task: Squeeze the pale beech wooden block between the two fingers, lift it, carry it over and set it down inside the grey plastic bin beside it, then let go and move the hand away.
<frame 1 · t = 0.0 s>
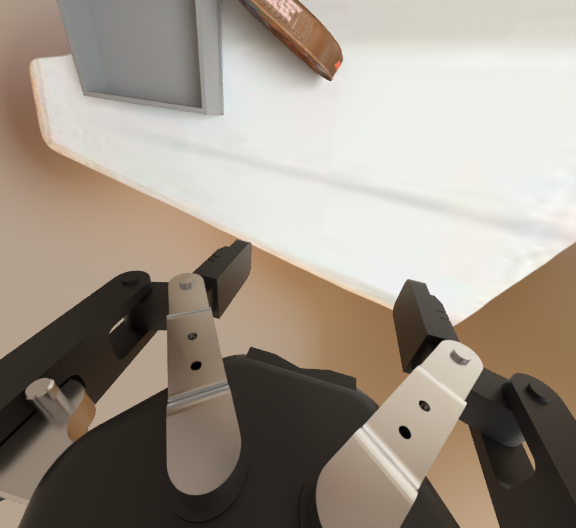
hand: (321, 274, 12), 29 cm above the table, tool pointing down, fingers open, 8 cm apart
bin: (158, 48, 34), on the table
tin: (295, 33, 30), on the table
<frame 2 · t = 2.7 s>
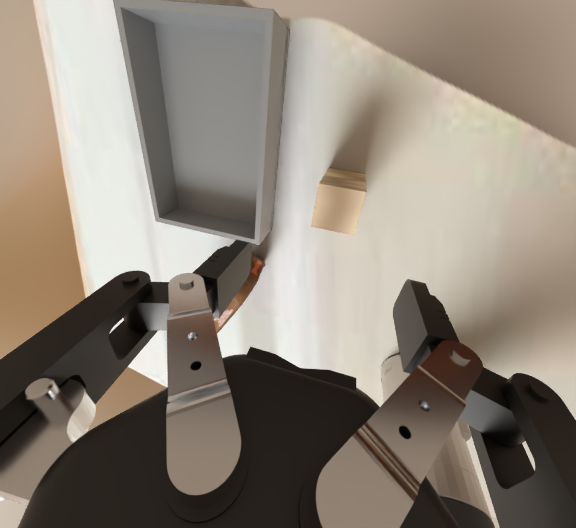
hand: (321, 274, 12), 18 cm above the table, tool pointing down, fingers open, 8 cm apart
bin: (222, 139, 28), on the table
wooden block: (342, 188, 28), on the table
tin: (243, 279, 39), on the table
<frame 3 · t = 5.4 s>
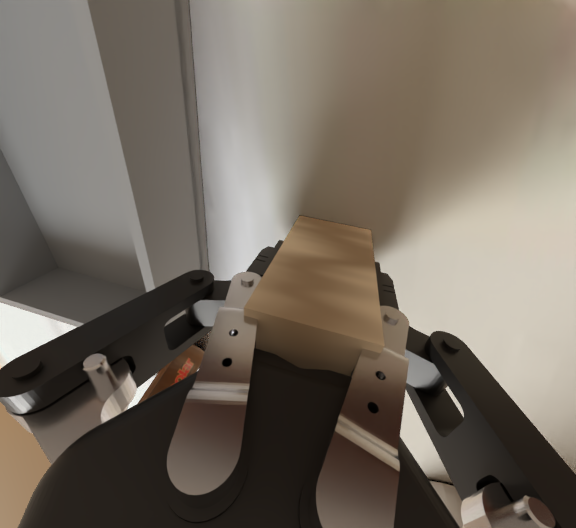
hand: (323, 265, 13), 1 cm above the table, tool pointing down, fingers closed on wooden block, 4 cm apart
bin: (99, 158, 15), on the table
wooden block: (327, 253, 14), on the table, touching gripper
tin: (183, 363, 25), on the table
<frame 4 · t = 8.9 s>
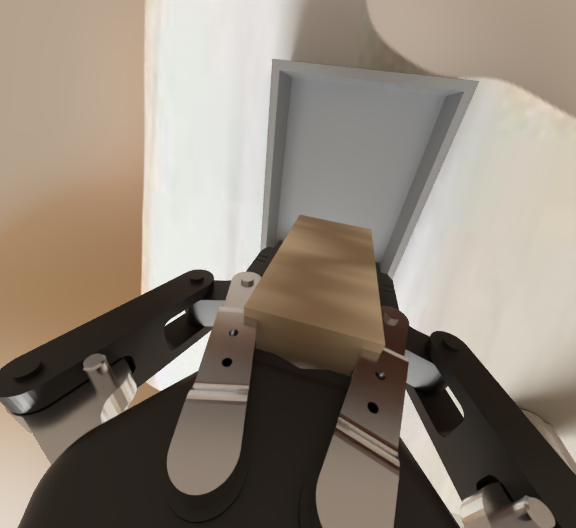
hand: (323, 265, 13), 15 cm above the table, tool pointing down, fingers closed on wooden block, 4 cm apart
bin: (340, 194, 26), on the table
wooden block: (327, 252, 14), point 14 cm above the table, touching gripper
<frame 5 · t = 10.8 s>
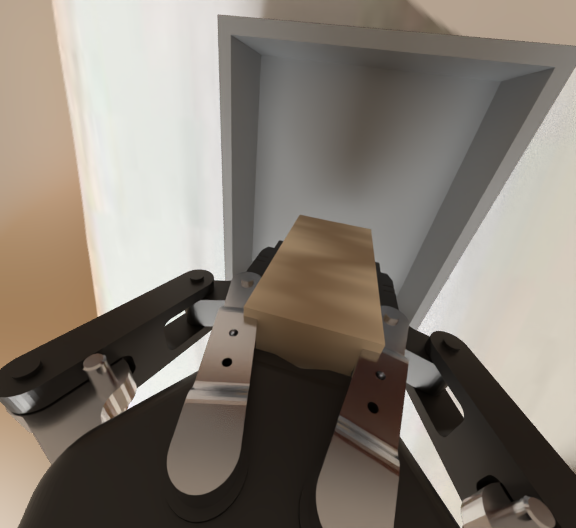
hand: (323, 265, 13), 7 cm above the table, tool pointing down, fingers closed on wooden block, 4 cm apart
bin: (335, 221, 19), on the table
wooden block: (327, 252, 14), point 5 cm above the table, touching gripper
when the fingers open (4 cm above the table, at t = 12.3 s): wooden block drops 1 cm, resting on bin.
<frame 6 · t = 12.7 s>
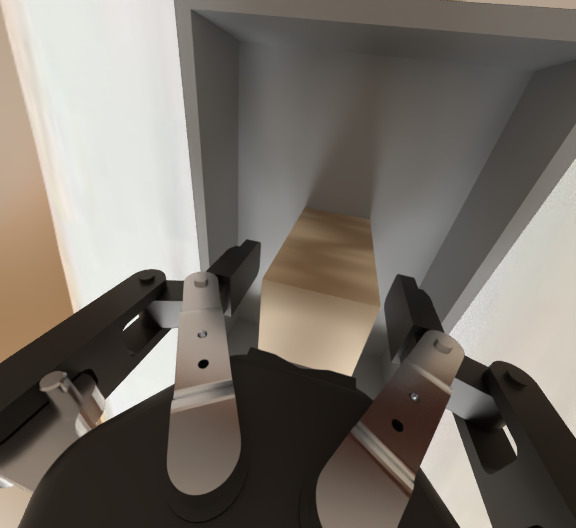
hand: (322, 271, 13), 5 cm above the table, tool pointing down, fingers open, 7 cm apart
bin: (330, 235, 16), on the table
wooden block: (330, 242, 16), point 1 cm above the table, touching bin
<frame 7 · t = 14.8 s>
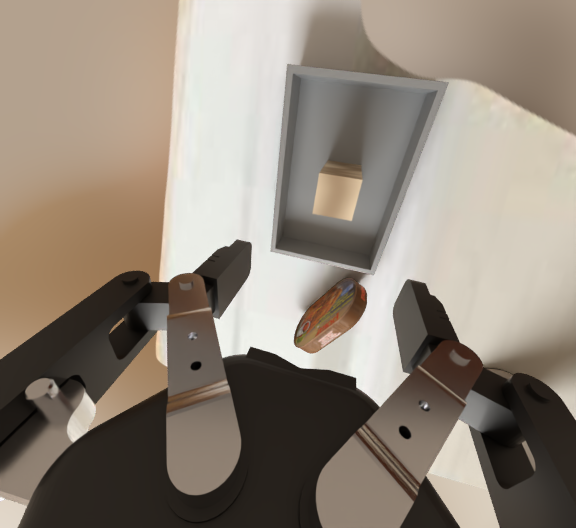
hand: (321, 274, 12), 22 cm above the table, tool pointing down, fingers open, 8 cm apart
bin: (340, 178, 30), on the table
wooden block: (340, 179, 30), point 1 cm above the table, touching bin
tin: (330, 299, 41), on the table
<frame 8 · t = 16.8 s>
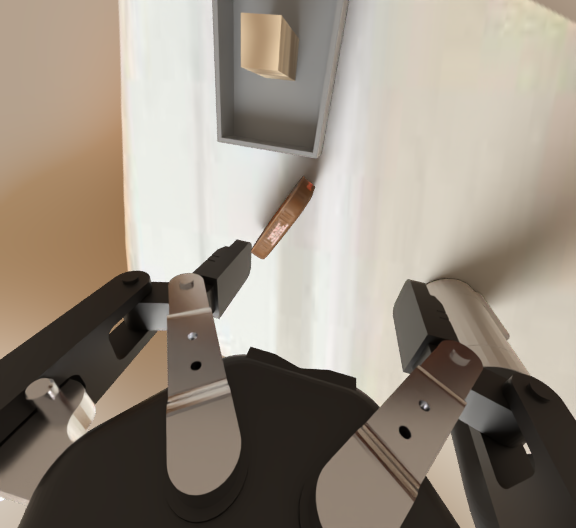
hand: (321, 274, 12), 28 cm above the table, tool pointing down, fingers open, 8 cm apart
bin: (283, 61, 31), on the table
wooden block: (281, 59, 30), point 1 cm above the table, touching bin
tin: (287, 212, 41), on the table
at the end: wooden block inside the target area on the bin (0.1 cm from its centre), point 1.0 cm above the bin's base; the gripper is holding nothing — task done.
